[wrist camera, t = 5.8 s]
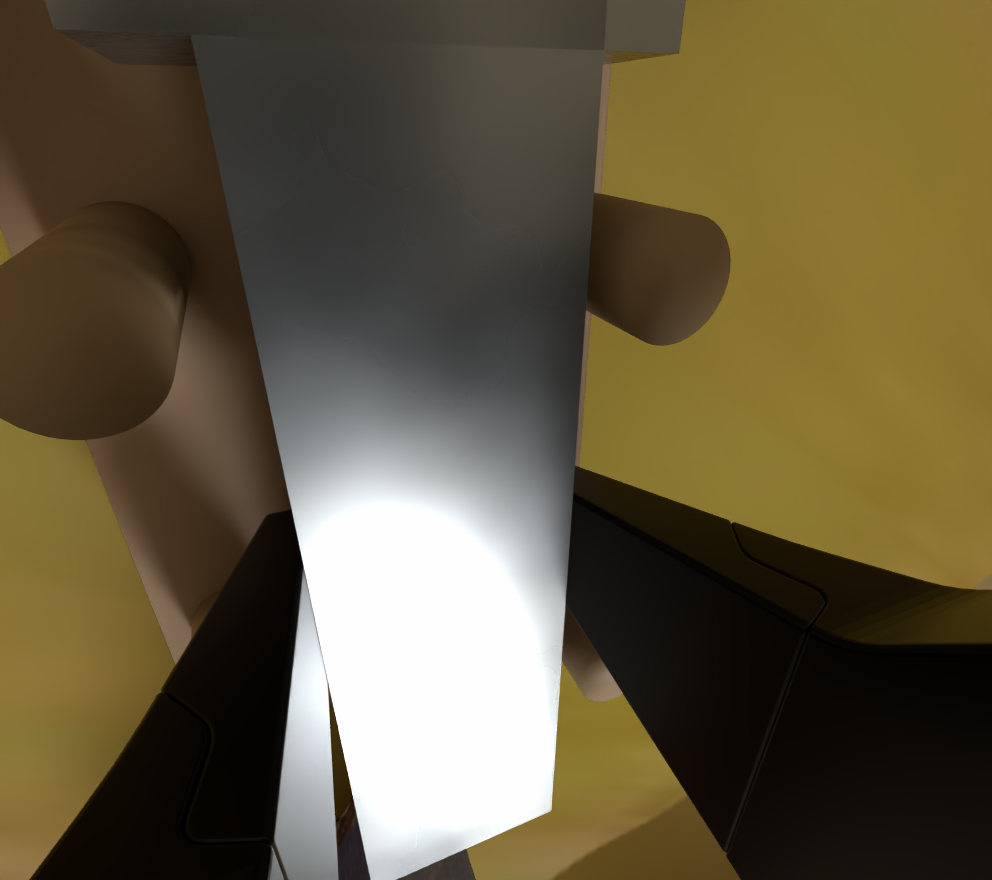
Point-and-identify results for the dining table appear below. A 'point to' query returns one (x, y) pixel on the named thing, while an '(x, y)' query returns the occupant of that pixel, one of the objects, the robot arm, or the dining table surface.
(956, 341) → the dining table surface
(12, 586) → the dining table surface
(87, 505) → the dining table surface
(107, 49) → the spanner
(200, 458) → the rack
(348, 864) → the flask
